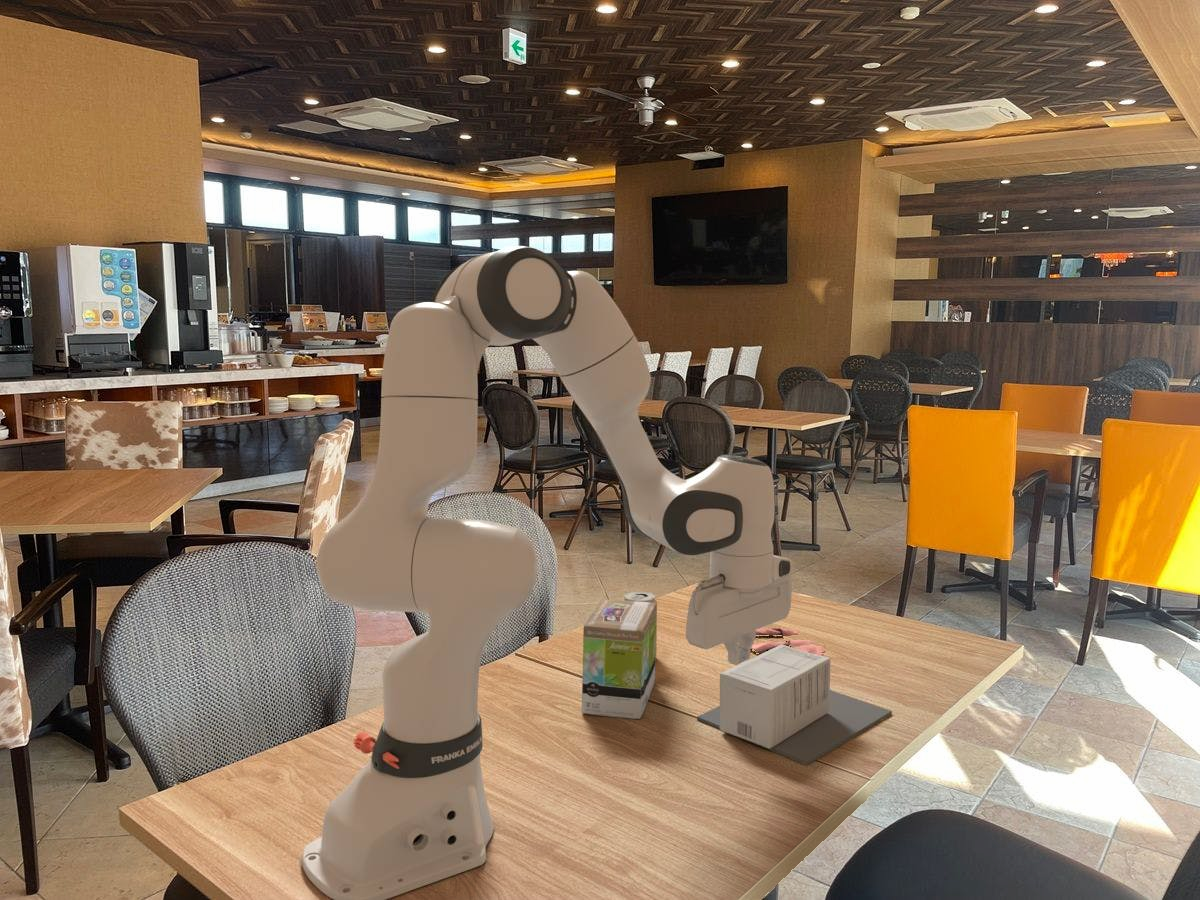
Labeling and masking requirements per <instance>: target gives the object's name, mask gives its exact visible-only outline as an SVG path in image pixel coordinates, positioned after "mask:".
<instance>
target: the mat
mask: <svg viewBox="0 0 1200 900" xmlns="http://www.w3.org/2000/svg"><path fill="white" fill-rule="evenodd" d="M892 714H893V711H892V710H891V709H888V708H886V707H882V706H879V705H876V704H873V703H870V702H867V701H864V700H861V699H858V698H856V697H852V696H849V695H847V694H844V693H840V692H837V691H834V690H831V689H830V695H829V712H828V713H827V714H825V715H823V716H822V717H820V718H819V719H817V720H815V721H814V722H812V723H811V724H809V725H807V726H806V727H804V728H803V729H801V730H799V731H798V732H796V733H795V734H793V735H791V736H790V737H788V738H787V739H785V740H783V741H782V742H780V743H779V744H777V745H775V746H774V747H772V748H771V749H769V748H766V747H764V746H761V745H759V744H756V743H753V742H751V741H748V740H746V741H748V742H749V743H752V744H755V745H757V746H759V747H762V748H764V749H767V750H768V751H771V752H773V753H776V754H777V755H780V756H783V757H786V758H787V759H790V760H792V761H794V762H795V761H796V762H798V763H799V764H802V765H804V766H809V765H810V764H812V763H813V762H815V761H816V760H819V759H820V758H821V757H823V756H825V755H826V754H828V753H830V752H831V751H833V750H835V749H837V748H838V747H840V746H842V745H843V744H845V743H846V742H847V741H848V742H849V740H851V739H853V738H854V737H856V736H858V735H859V734H861V733H863V732H865V731H866V730H868V729H869V728H872V726H874V725H876V724H878V723H879V722H881V721H882V720H884V719H886V718H887V717H889V716H891V715H892ZM696 720H697V721H699V722H702V723H704V724H707V725H709V726H712V727H714V728H717V729H719V730H720V705H719V706H717V707H715V708H713V709H710V710H708V711H705V712H704V713H702V714H700V715H698V716H697V717H696ZM741 739H742V740H744V739H743V738H741Z"/></svg>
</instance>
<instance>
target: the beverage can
mask: <svg viewBox="0 0 1200 900" xmlns="http://www.w3.org/2000/svg"><path fill="white" fill-rule="evenodd" d="M623 601H637V602H650V603H656V604H657V605H658V602H657V600H656V595H655V594H654V593H652V592H649V591H630V592H627V593H625V594H624V596H623ZM657 619H658V618H657ZM657 619H656V653H657V650H658V649H657V648H658V647H657V640H658V639H657V637H658V636H657V635H658V632H657V631H658V629H657V628H658V627H657V625H658V620H657Z"/></svg>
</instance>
